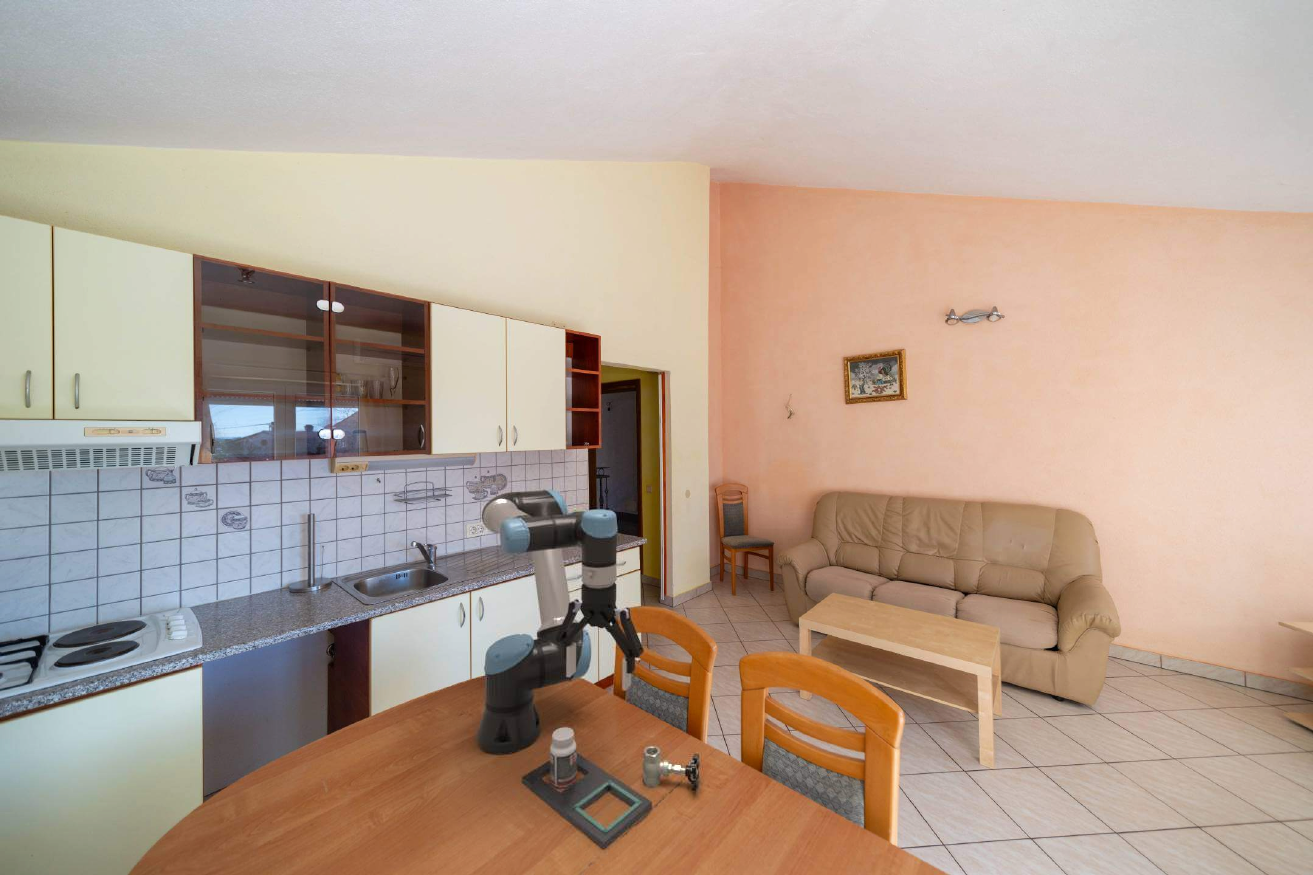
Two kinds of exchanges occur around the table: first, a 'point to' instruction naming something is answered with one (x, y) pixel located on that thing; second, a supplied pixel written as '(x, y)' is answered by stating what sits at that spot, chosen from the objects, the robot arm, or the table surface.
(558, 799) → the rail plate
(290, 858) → the table surface
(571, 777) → the pill bottle
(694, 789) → the valve
